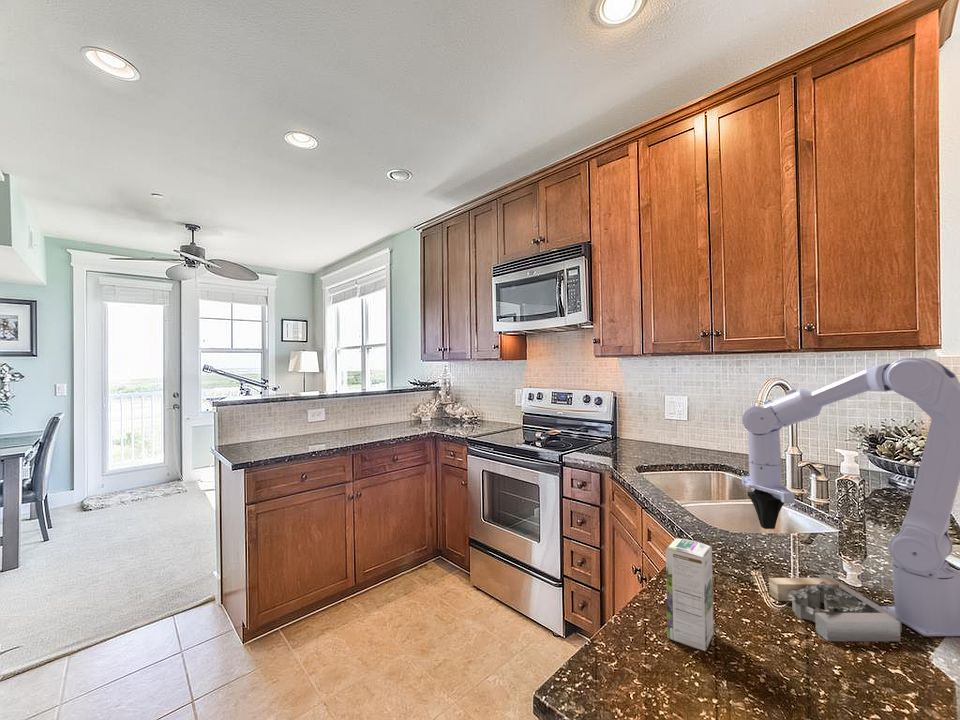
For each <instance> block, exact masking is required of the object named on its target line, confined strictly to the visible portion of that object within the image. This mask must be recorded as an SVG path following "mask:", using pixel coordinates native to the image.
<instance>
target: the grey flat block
mask: <svg viewBox="0 0 960 720" xmlns="http://www.w3.org/2000/svg"><path fill="white" fill-rule="evenodd" d="M818 576H819V577H818V578H830V579H831V580H833V581H835V582H836V583H838V584H839V590H841V591H843V592H846V593H847V594H848V595H853V596H854V597H855V599H856V600H857V601H859V602H862V601H864V602H865V603H866V605H865V609H864V608H863V611H862V613H815V622H814V623H815V624H814V625H815V633H817V634H818V635H819V636H820V637H822V638H823V639H824V640H825V641H826V642H901V641H902V640H901V633H903V626H902V624H903V623H902V622H901V619H900V618H899V617H897V616H895V615H894V614H892V613H890V612H889V611H887V610H885V609H884V608H882V607H881V606H880V605H878V604H877V603H875V602H873V601H872V600H871V599H868V598H867V597H865V596H864V595H862V594H860V593H859V592H857V591H856V590H854V589H852V588H850V587H848V586H847V585H846V584H844V583H842V582H840V581H838V580H837V579H835V578H834V577H832V576H831V575H829V574H819V575H818Z"/></svg>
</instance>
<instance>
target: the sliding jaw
mask: <svg viewBox="0 0 960 720" xmlns="http://www.w3.org/2000/svg"><path fill="white" fill-rule="evenodd" d="M822 581H824V582H826V583H827V584H829V585H830V586H831V587H833V588H838V589H839V584H838V583H836V582H835V581H833V580H831V579H830V578H819V577H768V584H769V585H768V590H769V595H770V596H771V597H772V598H774V599H775V600H776V599H777V600H776V601H778V602H792V600H789V599H788V595H789V591H791V590H793V591H798V590H800V589H804V588H805V587H807V586H809V587H810V588H811V586H816V585H818V584H819V583H821V582H822ZM820 585H824V584H820Z"/></svg>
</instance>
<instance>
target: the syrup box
mask: <svg viewBox="0 0 960 720" xmlns="http://www.w3.org/2000/svg"><path fill="white" fill-rule="evenodd" d="M712 553H713V547H712V546H711V545H708V544H705V543H702V542H698V541H695V540H691V539H686V538H678V537H677V538H675V539H674V540H673V541H672V542H671V544H669V545H668V547H666V549H665V574H666V575H665V577H666V578H665V581H666V582H665V583H666V584H665V585H666V586H665V587H666V626H667V627H666V633H667V634H666V636H667V638H668V639H669V640H672V641H673V642H678V643H680V644H683V645H686V646H687V647H688V646H689V647H692V648H694V649H698V650H700V651H704V652H707V651H708V648H709V646H710V643H711V641H712V638H713V637H714V636H715V635H714V633H715V621H714V579H713V577H714V576H713V554H712Z"/></svg>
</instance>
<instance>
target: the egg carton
mask: <svg viewBox="0 0 960 720" xmlns="http://www.w3.org/2000/svg"><path fill="white" fill-rule="evenodd" d="M820 584H824V585H820ZM788 599H789V600H792V601H791V604H792V605H791V607H792V608H791V609H792V612H793V613H794V612H795V613H794V615H795V616H796V618H798V619H800V620H808V621H811V622H813V623H815V613H863V612H862V611H863V608H864V609H865V605H866V603H865V602H864V601H862V602H859V601H857V600H856V599H855V597H854V596H853V595H848V594H847V593H846V592H843V591H841V590H839V589H838V588H833V587H831V586H830V585H829V584H827V583H826V582H824V581H822V582H821V583H819V584H818V585H816V586H811V588H810V587H809V586H807V587H805V588H804V589H800V590H798V591H793V590H791V591H789V595H788ZM821 604H824V609H822V607H821Z"/></svg>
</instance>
